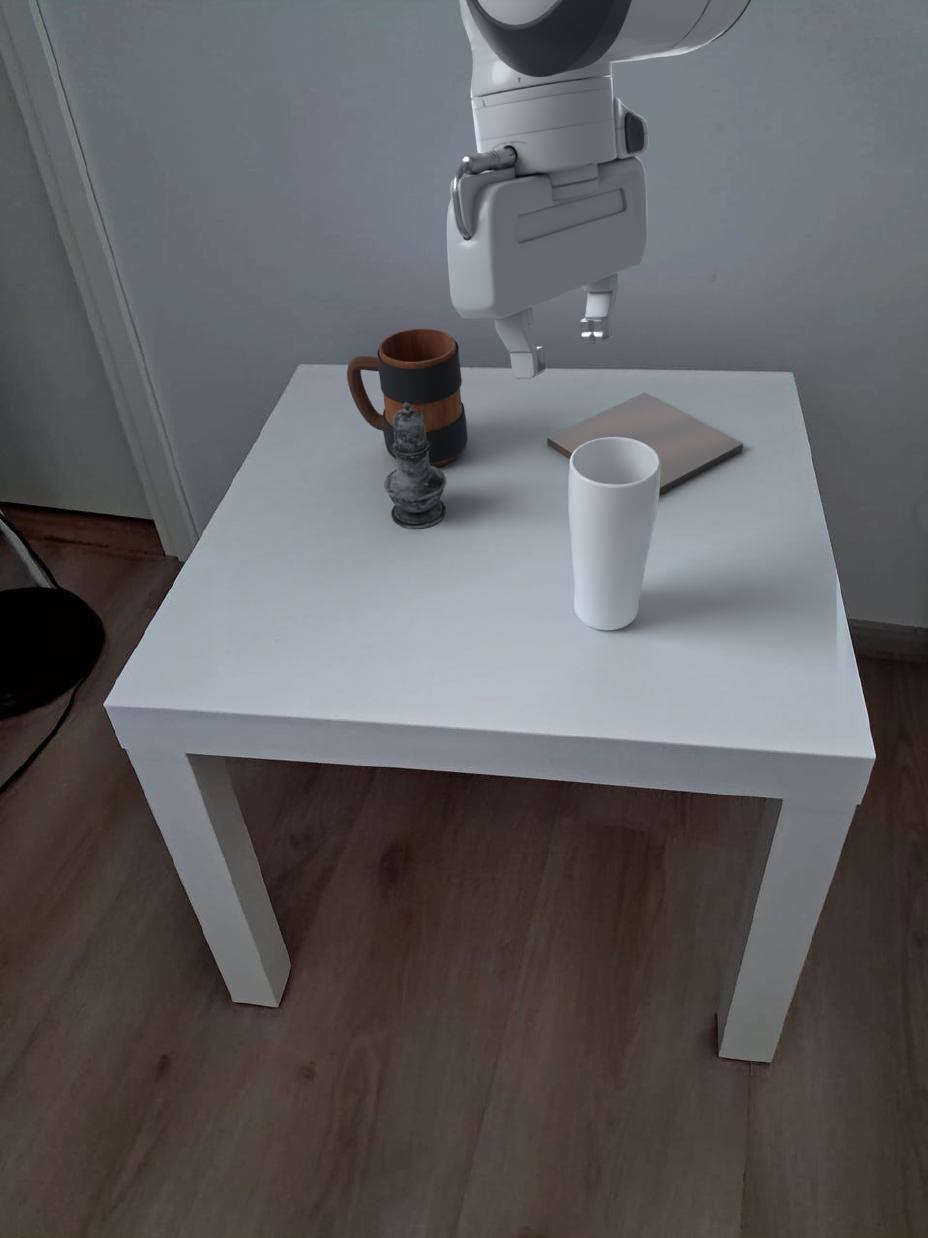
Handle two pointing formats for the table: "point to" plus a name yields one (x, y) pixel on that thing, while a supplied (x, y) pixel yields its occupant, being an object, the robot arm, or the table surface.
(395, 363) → the mug
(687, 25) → the robot arm
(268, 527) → the table surface
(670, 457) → the walnut board
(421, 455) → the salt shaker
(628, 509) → the drinking glass
